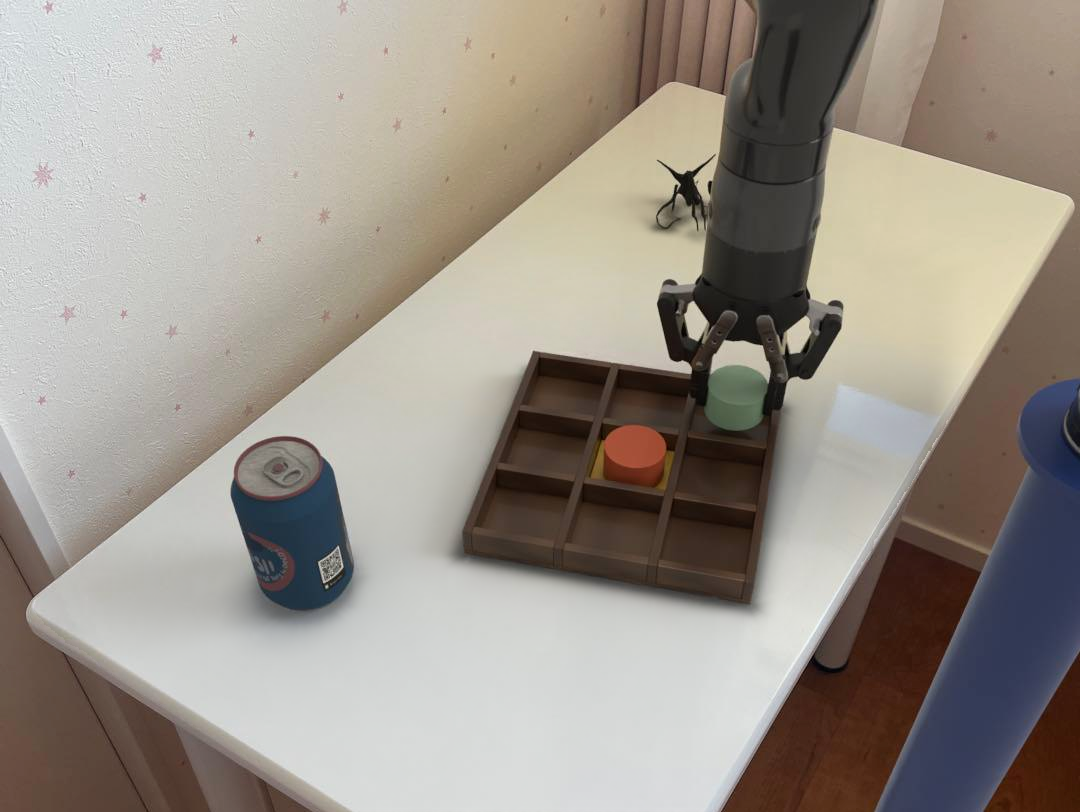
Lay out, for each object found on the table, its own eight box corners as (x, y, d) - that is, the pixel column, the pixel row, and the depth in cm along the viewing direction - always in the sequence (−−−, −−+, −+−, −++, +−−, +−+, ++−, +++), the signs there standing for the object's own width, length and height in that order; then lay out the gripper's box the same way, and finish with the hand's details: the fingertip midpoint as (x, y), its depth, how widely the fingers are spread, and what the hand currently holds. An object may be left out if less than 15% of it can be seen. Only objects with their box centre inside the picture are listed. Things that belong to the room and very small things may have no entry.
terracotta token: (668, 455, 88) (671, 429, 86) (658, 497, 85) (660, 472, 83) (609, 446, 89) (610, 420, 87) (597, 487, 86) (598, 462, 84)
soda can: (241, 586, 81) (201, 470, 72) (312, 532, 84) (283, 415, 75) (305, 635, 78) (272, 520, 69) (376, 576, 81) (353, 460, 72)
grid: (780, 409, 93) (784, 387, 91) (750, 604, 79) (754, 583, 77) (533, 372, 96) (533, 350, 95) (464, 552, 83) (461, 531, 81)
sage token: (766, 395, 90) (771, 369, 88) (760, 435, 87) (765, 408, 85) (708, 387, 91) (711, 360, 89) (700, 426, 88) (703, 399, 86)
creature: (736, 239, 111) (717, 183, 115) (747, 199, 107) (726, 141, 110) (661, 247, 110) (643, 191, 114) (668, 207, 106) (649, 149, 110)
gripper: (872, 200, 77) (828, 387, 90) (669, 177, 79) (654, 362, 92) (866, 261, 72) (821, 449, 85) (650, 234, 75) (638, 421, 87)
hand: (734, 403), depth 89 cm, fingers closed on sage token, 4 cm apart
